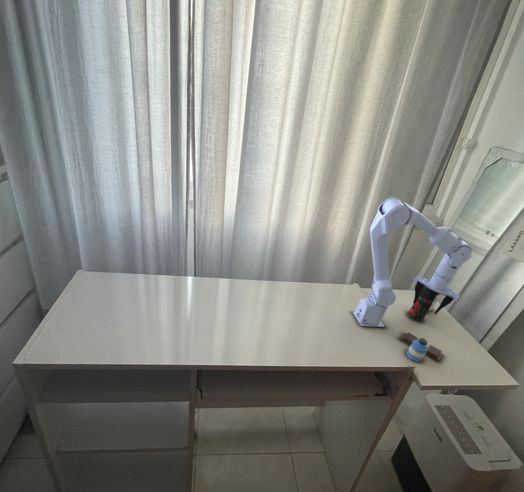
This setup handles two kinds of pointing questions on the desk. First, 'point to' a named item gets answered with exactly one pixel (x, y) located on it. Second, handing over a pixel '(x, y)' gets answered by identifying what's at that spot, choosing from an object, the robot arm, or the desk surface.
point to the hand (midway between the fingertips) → (425, 307)
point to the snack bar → (432, 350)
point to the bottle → (418, 349)
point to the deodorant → (422, 304)
